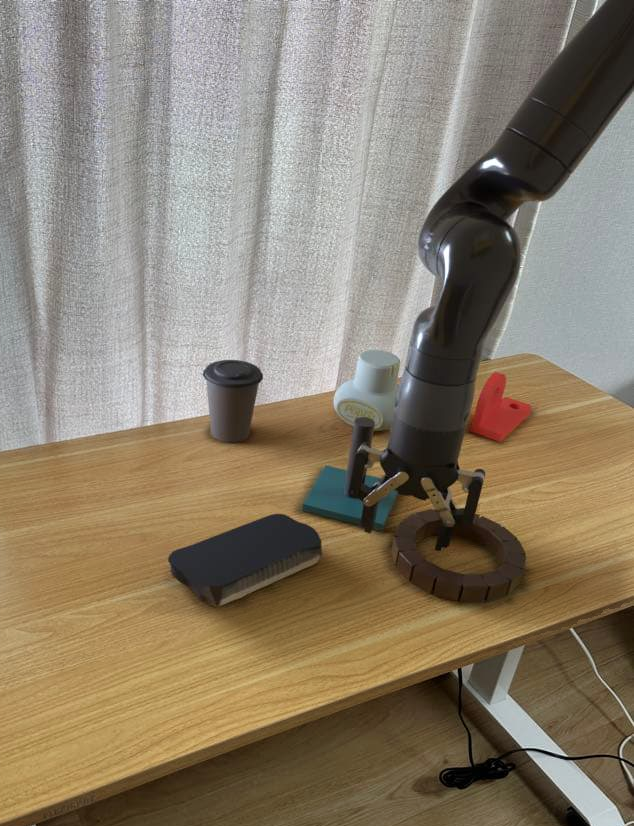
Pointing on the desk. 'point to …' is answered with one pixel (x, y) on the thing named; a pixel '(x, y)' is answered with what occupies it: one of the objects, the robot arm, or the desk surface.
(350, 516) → the post stand
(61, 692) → the desk surface
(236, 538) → the black board eraser
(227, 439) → the coffee cup
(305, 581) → the desk surface
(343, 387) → the air freshener
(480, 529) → the ring
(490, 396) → the bracket
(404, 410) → the robot arm
